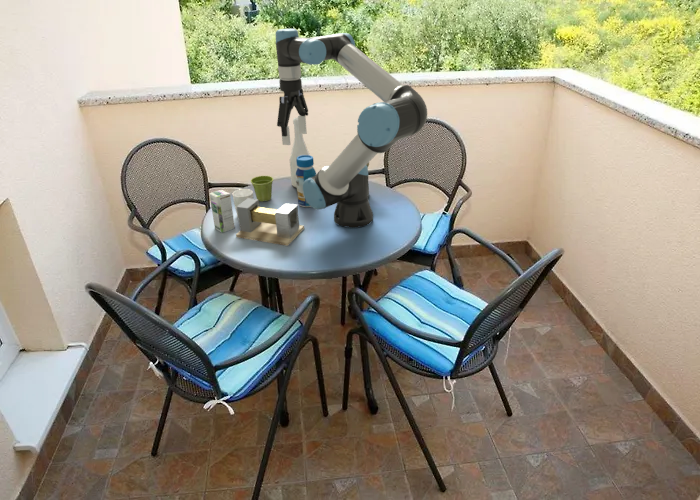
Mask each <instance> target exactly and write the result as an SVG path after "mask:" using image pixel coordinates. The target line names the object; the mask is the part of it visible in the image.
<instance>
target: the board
mask: <svg viewBox="0 0 700 500" xmlns="http://www.w3.org/2000/svg"><path fill="white" fill-rule="evenodd" d="M303 230H305V225H304V224H303V225H302V224H299V230H298V231H297V232H296V233H295V234H294V235H293V236H292V237H291V238H290V239H288V238H282V237H277V227H276V224H269V223H263V222H261V224H260V225H259V226H258V227H256V228H255V229H254V230H253V231H252V232H245V231H240V230H239V231H238V232H237V233H235V237H236V238H239V239H246V240H252V241H256V242H257V241H258V242H262V243H268V244H275V245H280V246H286V247H288V246H289V245H290V244H291V243H292V242H293V241H294V240H295V239H296V238H297V237H298V236H299V235H300V233H302V231H303Z"/></svg>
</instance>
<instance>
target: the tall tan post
mask: <svg viewBox="0 0 700 500" xmlns="http://www.w3.org/2000/svg"><path fill="white" fill-rule="evenodd" d="M277 210H278V209H276V208H268V207H261V206H259V207H256V206H255V207H254V208H253V209H251V210H250V213H251V220H252V221H256V222H263V223H269V224H276V218H275V212H276V211H277Z"/></svg>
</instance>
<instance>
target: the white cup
mask: <svg viewBox="0 0 700 500" xmlns="http://www.w3.org/2000/svg"><path fill="white" fill-rule="evenodd" d="M231 194H232V200H233V204H234V208H235V212H236V216H237V217H236V218H238V212H237V206H238V205H240V204H241V203H242V202H244V201H245V200H246V199H247V198H251V199H254V191H253V190H252V189H249V188H241V189H236V190H234V191H233V192H232V193H231Z"/></svg>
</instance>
